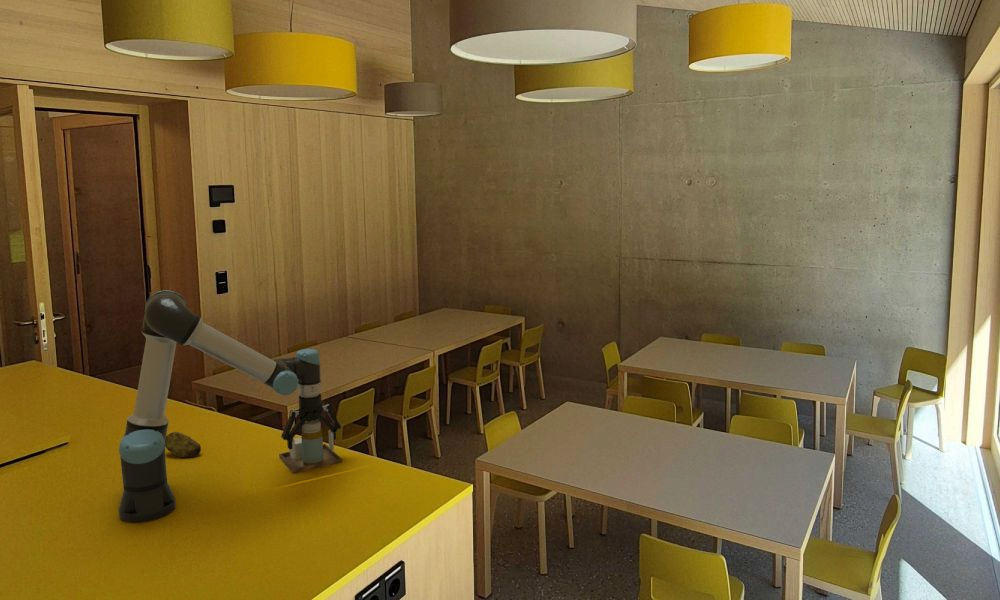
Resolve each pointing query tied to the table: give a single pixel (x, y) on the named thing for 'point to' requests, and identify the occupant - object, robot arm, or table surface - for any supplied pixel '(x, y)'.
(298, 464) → the tray
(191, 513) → the table surface
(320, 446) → the bottle
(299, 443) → the carton
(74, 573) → the table surface
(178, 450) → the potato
